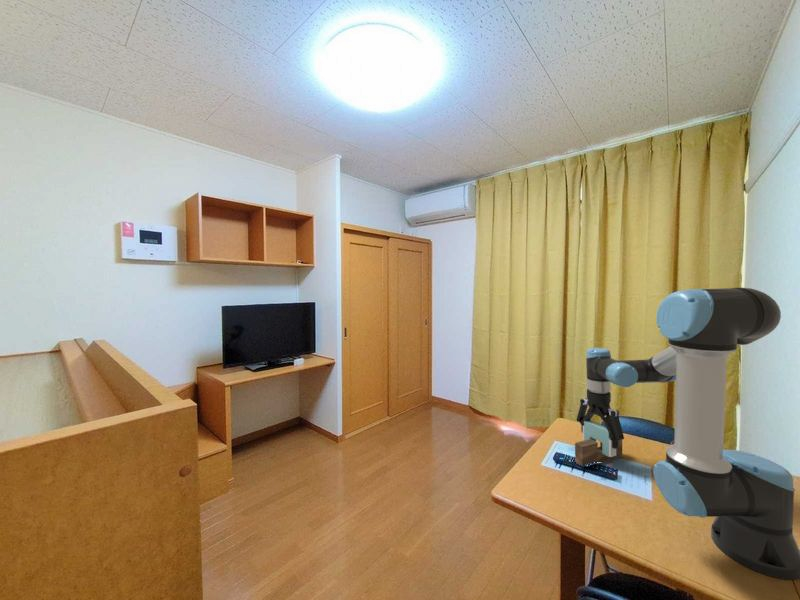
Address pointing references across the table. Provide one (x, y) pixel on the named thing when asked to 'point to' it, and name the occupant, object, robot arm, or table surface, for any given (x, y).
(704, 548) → the table surface
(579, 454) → the walnut fin
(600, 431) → the light blue piece
